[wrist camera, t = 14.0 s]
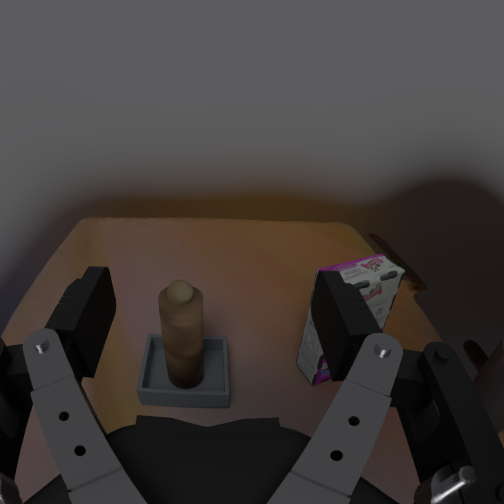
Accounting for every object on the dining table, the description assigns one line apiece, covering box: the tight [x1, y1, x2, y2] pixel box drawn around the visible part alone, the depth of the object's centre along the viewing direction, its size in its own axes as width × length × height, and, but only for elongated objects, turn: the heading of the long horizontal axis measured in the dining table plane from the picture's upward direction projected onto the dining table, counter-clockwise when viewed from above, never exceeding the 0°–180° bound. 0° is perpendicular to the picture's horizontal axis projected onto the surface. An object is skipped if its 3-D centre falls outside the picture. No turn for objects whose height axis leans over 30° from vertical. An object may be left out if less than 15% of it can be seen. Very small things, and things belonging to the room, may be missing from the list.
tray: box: [137, 334, 229, 408], centre depth 39 cm, size 11×10×3 cm
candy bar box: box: [296, 254, 405, 386], centre depth 40 cm, size 11×5×16 cm, turn 115°
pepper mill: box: [158, 280, 204, 389], centre depth 35 cm, size 5×5×15 cm
